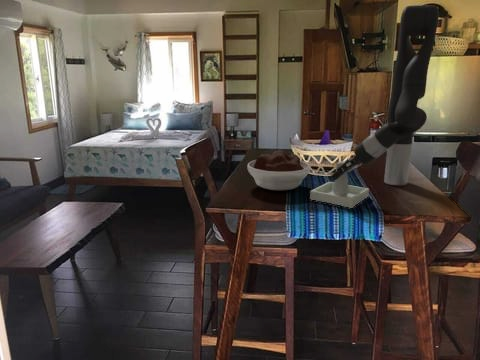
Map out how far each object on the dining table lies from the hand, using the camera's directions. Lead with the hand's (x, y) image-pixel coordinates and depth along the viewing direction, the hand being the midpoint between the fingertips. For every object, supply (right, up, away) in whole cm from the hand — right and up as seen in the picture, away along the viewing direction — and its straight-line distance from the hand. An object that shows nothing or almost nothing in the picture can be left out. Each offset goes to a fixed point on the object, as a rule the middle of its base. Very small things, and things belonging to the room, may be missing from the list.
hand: (336, 176), depth 148 cm
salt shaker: (+2, -8, +1) cm, 8 cm away
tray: (+1, -8, +1) cm, 9 cm away
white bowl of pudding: (-20, -5, +16) cm, 26 cm away
